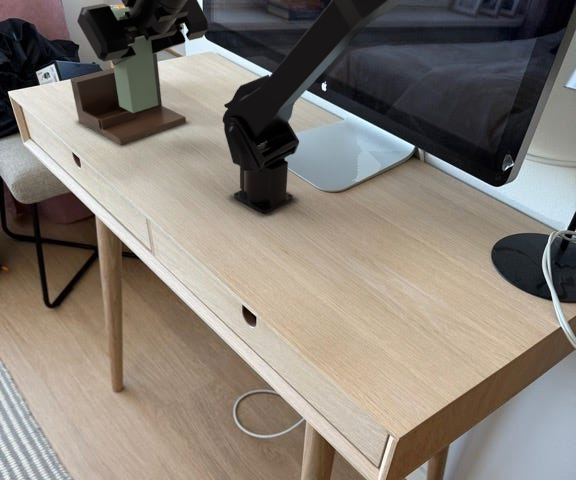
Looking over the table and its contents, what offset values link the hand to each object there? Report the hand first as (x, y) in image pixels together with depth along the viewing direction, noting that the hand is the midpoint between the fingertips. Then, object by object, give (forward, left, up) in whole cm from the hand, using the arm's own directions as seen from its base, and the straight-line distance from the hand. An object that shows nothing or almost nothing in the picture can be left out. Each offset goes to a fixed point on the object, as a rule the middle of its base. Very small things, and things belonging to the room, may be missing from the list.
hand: (127, 58), depth 86 cm
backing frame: (+6, -3, -12) cm, 14 cm away
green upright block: (-1, 0, -7) cm, 7 cm away
